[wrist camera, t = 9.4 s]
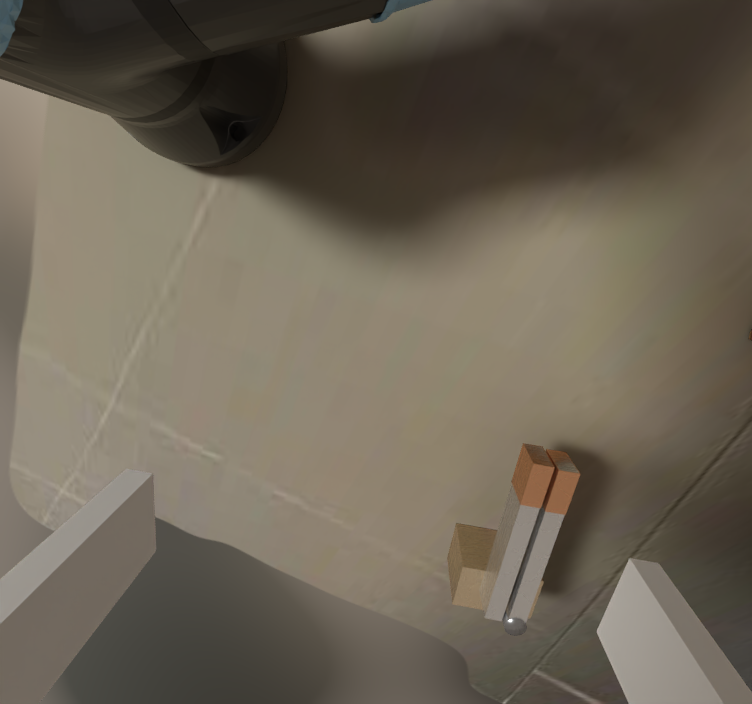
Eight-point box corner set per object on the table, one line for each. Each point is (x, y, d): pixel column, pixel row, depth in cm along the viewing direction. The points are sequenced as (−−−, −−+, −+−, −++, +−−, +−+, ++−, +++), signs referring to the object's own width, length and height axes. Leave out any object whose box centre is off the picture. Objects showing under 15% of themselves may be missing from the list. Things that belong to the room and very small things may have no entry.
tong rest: (486, 408, 41) (506, 459, 32) (565, 422, 40) (607, 476, 32) (447, 557, 47) (455, 633, 38) (515, 569, 47) (539, 648, 38)
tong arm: (544, 448, 35) (557, 470, 32) (567, 452, 35) (582, 474, 32) (495, 602, 40) (502, 633, 37) (515, 605, 40) (523, 637, 37)
